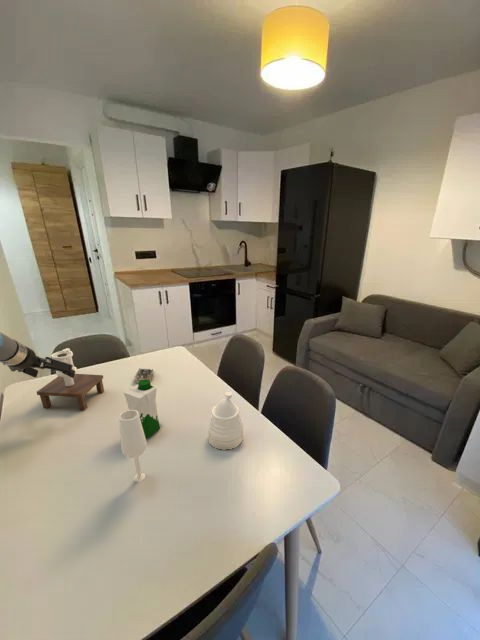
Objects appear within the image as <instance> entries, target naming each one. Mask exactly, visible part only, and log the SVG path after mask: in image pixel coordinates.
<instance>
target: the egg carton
mask: <svg viewBox="0 0 480 640" xmlns="http://www.w3.org/2000/svg"><path fill="white" fill-rule="evenodd" d="M153 376H154V369H153V368H152V369H151V368H141V367H140V368H138V370H137V372H136V374H135V375H134V377H133V378H134V381H135V383H136V385H138V382H139V381H141V380H150V384H151V383H152V380H153Z"/></svg>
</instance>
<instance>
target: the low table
mask: <svg viewBox="0 0 480 640" xmlns="http://www.w3.org/2000/svg"><path fill="white" fill-rule="evenodd" d="M103 379H104V375H103V374H88V373H75V375H74V378H73V380H74V384H73V385H71V386H66V385H65V381H64V377H60V376H56V378H54V379H52V380H51V381H50V382H48V383H47V384H45V385H44V386H43V387H41V388H39V390H37V391H36V395H37V396H39V397H40V401H41V403H42V408H43V409H49V408H51V407H52V401H51V399H50V397H62V398H63V397H64V398H76V399H77V404H78V409H79V411H86V410H87V409H88V407H89V406H88V403H87V400H86V394H88V393H89V392H90V391H91V390H92V389H93V388H94V387H95V388H96V392H97V394H103V393H104V392H105V387H104V383H103Z"/></svg>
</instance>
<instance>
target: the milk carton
mask: <svg viewBox="0 0 480 640" xmlns="http://www.w3.org/2000/svg"><path fill="white" fill-rule="evenodd" d="M123 395H124V397H125V401H126V403H127V407H128V410H136V411H138V413H139V417H140V420H141V424H142V427H143V431H144V434H145V438H146V440H148V439H149V438H150V437H151V436H153V435H154V434H155V433H157V432H158V431H159V430H161V426H160V425H161V424H160V421H159V415H158V407H157V387H156V386H153V385H152V384H151V383H150V380H141V381H139V382H138V384H135V385H134V386H132V387H129V389H127V390H126V391H124V392H123Z"/></svg>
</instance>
